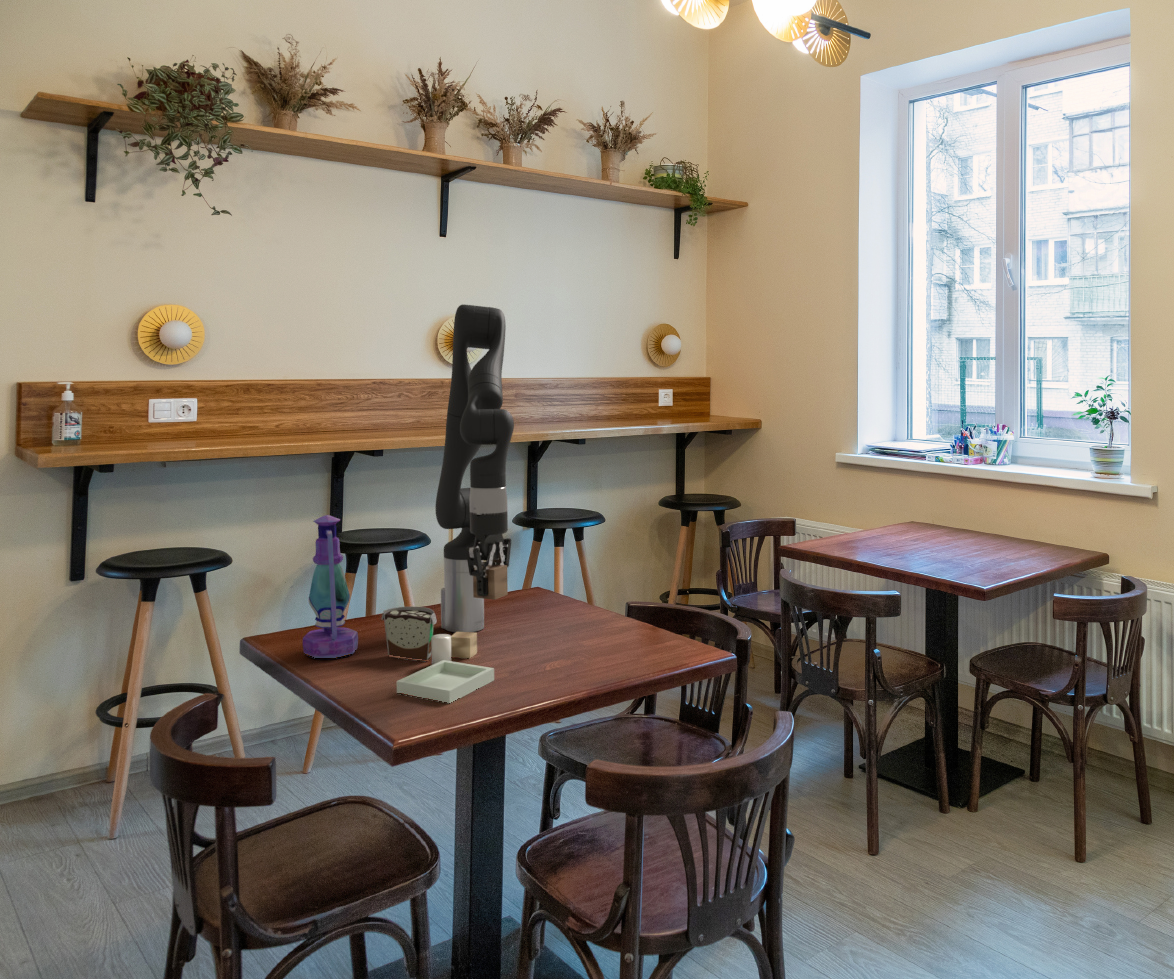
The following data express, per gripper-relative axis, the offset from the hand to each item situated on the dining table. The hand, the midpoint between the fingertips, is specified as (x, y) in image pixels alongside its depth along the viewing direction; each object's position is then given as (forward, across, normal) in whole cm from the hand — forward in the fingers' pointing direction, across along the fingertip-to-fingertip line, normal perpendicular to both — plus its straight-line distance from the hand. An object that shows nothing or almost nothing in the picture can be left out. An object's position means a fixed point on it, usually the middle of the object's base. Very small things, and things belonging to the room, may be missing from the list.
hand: (490, 592), depth 190 cm
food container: (+16, -1, -20) cm, 25 cm away
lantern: (+16, +6, -37) cm, 40 cm away
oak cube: (+16, -6, -10) cm, 20 cm away
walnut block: (+1, 0, 0) cm, 1 cm away
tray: (+16, +13, -2) cm, 21 cm away
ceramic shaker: (+16, +2, -11) cm, 19 cm away
